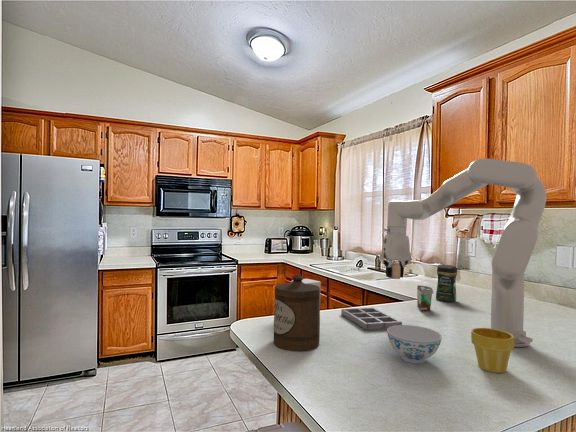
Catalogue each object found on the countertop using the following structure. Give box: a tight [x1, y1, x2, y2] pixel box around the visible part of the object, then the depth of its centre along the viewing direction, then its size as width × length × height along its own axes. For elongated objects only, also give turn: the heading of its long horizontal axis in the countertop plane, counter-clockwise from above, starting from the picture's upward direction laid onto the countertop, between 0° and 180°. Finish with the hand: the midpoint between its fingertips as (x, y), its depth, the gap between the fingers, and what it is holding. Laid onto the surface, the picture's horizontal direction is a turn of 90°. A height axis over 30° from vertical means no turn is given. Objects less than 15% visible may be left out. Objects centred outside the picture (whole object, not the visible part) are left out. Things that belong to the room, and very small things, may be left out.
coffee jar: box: [435, 264, 458, 303], centre depth 185 cm, size 10×8×19 cm
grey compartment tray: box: [340, 307, 403, 332], centre depth 142 cm, size 22×15×2 cm
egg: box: [388, 261, 401, 280], centre depth 142 cm, size 4×4×6 cm
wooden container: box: [273, 273, 321, 352], centre depth 114 cm, size 15×15×22 cm
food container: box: [416, 284, 434, 312], centre depth 164 cm, size 12×6×10 cm, turn 168°
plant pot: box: [470, 327, 515, 374], centre depth 98 cm, size 10×10×10 cm
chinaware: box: [386, 324, 443, 364], centre depth 104 cm, size 15×15×8 cm
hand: (394, 276), depth 142 cm, fingers closed on egg, 4 cm apart
